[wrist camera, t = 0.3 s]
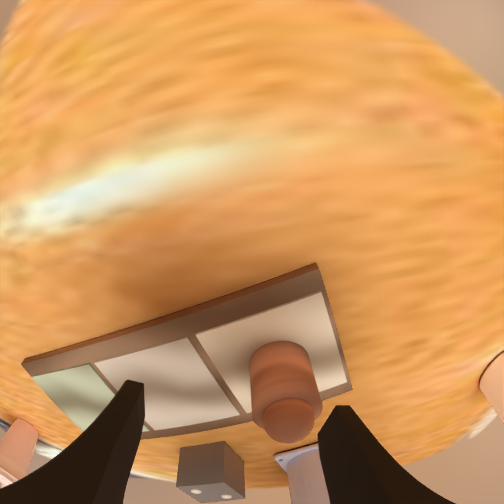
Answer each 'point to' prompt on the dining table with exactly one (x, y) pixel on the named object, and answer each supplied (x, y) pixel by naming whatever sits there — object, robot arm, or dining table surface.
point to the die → (211, 473)
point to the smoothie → (17, 451)
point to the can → (494, 384)
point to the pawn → (283, 391)
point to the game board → (198, 357)
